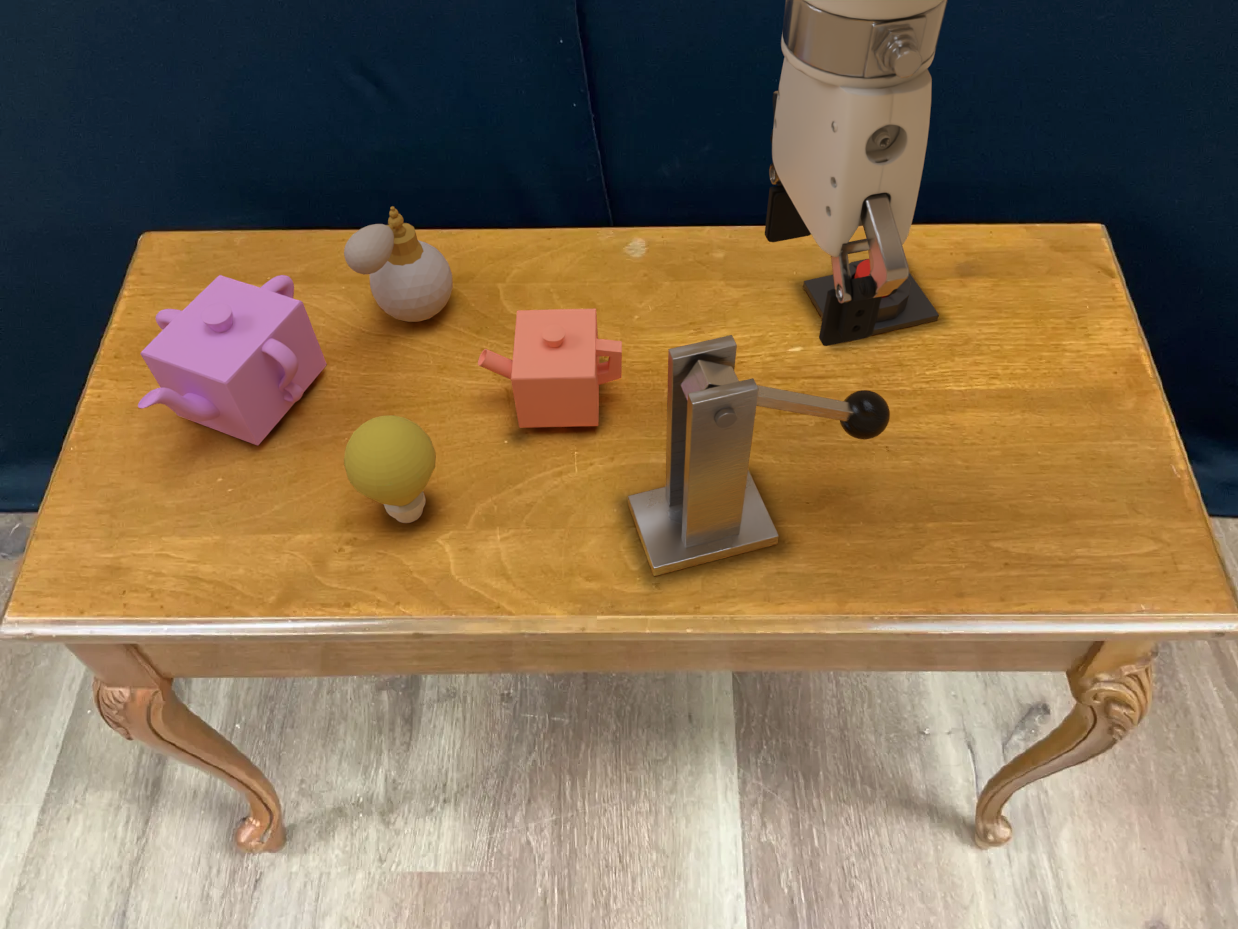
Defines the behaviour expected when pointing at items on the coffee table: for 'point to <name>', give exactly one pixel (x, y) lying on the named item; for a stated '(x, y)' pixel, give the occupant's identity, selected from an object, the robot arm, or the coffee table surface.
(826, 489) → the coffee table surface
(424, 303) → the perfume bottle
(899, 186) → the robot arm
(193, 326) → the teapot
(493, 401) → the coffee table surface
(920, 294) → the button block
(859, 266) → the button
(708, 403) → the lever stand
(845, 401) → the lever
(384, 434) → the light bulb
